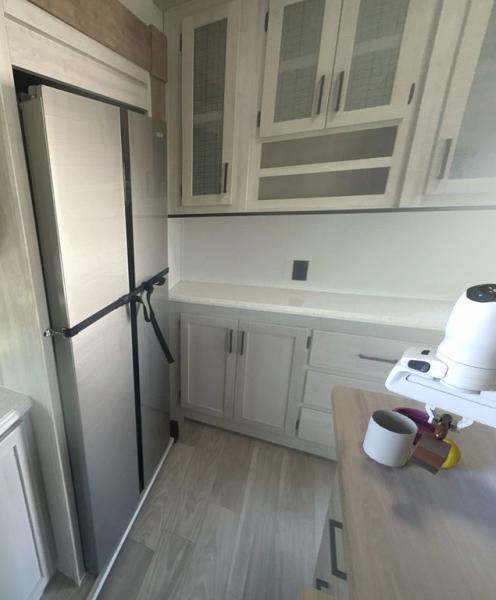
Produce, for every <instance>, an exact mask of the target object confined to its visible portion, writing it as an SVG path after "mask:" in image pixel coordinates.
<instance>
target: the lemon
mask: <svg viewBox="0 0 496 600" xmlns="http://www.w3.org/2000/svg"><path fill="white" fill-rule="evenodd" d="M443 441H445V442H447V443H449V444H451V445H452V447H451V450H450V453H449V455H448V458H447V460H446V461H445V463H444V464H443V465H442V467H441V468H443V469H452V468H454V467H456V466H457V465H458V464H459V463H460V461H461V459H462V452H461V448H460V447H459V446H458V444H456V443H455V442H454V441H452V440H451V439H449V438H447V437H446V438H445V439H444V440H443Z"/></svg>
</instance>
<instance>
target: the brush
mask: <svg viewBox="0 0 496 600" xmlns="http://www.w3.org/2000/svg"><path fill="white" fill-rule="evenodd" d="M453 418H454V417H453V415H451V414H450V413H443V414H441V419H440V421H439V423H438V425H437V427H436V429H435V432H434V436H433V435H431V434H429V433H427V432H424V433H423V434H422V436H421V437H420V439H419V440H418V442H417V443H416V444H415V445H414V446H413V448H412V449H411V451H410V453H409V456H408V458H407V461H409V462H410V463H413V464H414V465H416V466H418V467H419V468H421V469H423V470H425V471H427V472H429V473H430V474H432V475H434V476H436V475H437V473H438V472H439V471H440V469H441V468H442V465H443V464H444V463H445V461H446V460H447V458H448V455H449V453H450V450H451V447H452V445H451V444H449V443H447V442H445V441H443V440H444V439H445V438H446V439H447V435H448V432H449V431H450V430H449V427H450V424H451V422H452V420H454V419H453Z"/></svg>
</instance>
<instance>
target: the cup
mask: <svg viewBox="0 0 496 600" xmlns="http://www.w3.org/2000/svg"><path fill="white" fill-rule="evenodd" d="M367 425H368V426H367V429H366V433H365V437H364V440H363V443H362V448H363V450H364V452H365V453H366V454H367V456H369V458H371V459H373V460H374V461H376V462H377V463H379V464H381V465H384V466H388V467H391V468H392V467H393V468H401V467H403V466H405V465H407V461H408V459H409V456H410V454H411V451H412V446H413V445H414V443H413V441H414V438H415V436H416V433H417V430H418V427H417V426H416V424H415V422H413V421H412V420H411V419H409V418H408V417H406V416H404V415H402V414H400V413H398V412H394V411H392V410H390V409H377V410H374V411H372V413H371V414H370V418H369V421H368V424H367Z"/></svg>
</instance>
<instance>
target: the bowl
mask: <svg viewBox="0 0 496 600" xmlns="http://www.w3.org/2000/svg"><path fill="white" fill-rule="evenodd" d="M391 411H394V412H398V413H400V414H402V415H404V416H406V417H408V418H409V419H411V420H412V421H413V422H415V424H416V426H417V427H418V430H417V433H416V436H415V438H414V441H413V444H415V445H416V443H417V442H418V440H419V439H420V437H421V436H422V434H423V433H424V432H427V433H429V434H431V435H433V436H434V432H435V429H436V427H437V425H434V424H431V423H429V422H428V420H429V418H430V416H429V414H428V412H425V411H422V410H420V409H417V408H411V407H405V406H404V407H403V406H402V407H396V408H393V409H392V410H391Z"/></svg>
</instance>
